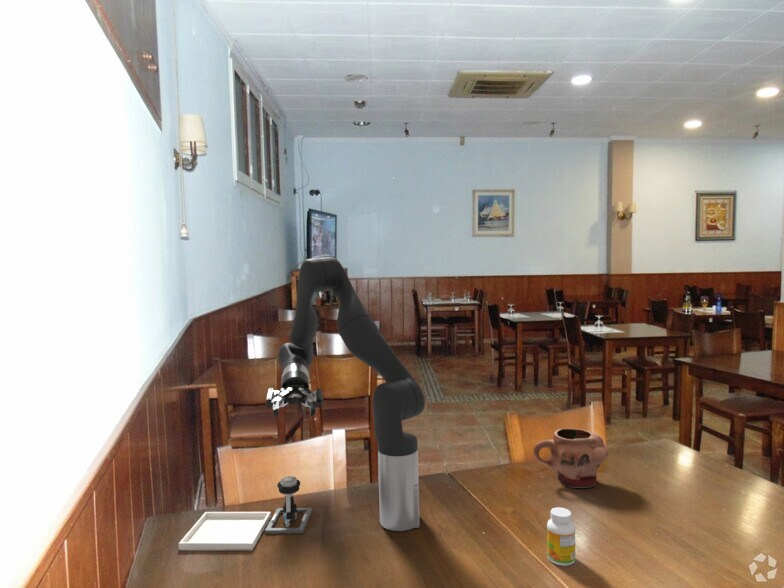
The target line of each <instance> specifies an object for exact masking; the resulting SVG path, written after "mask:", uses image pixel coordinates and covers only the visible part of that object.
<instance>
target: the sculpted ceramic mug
mask: <svg viewBox="0 0 784 588" xmlns="http://www.w3.org/2000/svg"><path fill="white" fill-rule="evenodd" d="M544 448H547V449H549V450H550V458H548V460H544V459H542V458H541V457H540V452H541V450H542V449H544ZM533 455H534V456H535V459H537V461H539V463H542V465H544V466H545V467H547V468H548V469H551V471H556V473H557V480H558V481H559V482H560V483H561V484H562V485H563V486H566V487H569V488H575V489H576V488H577V489H578V488H579V489H585V488H586V489H588V488H589V489H590V488H593V487H595V486H596V485H597V483H598V480H597V471H598V469H599V467H600V466H601V465H602V463H603V462H605V460H606V459H607V457H609V455H610V450H609V448H608V446H606V445H605V444H604V439H603V438H602V437H601V436H600V435H599V434H598V433H596V432H592V431H589V430H587V429H586V430H585V429H577V428H560V429H557V430H555V431H554V432H553V437H552V439H544V440H540V441H538V442H537V443H535V446H534V447H533Z"/></svg>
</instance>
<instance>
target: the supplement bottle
mask: <svg viewBox="0 0 784 588" xmlns="http://www.w3.org/2000/svg"><path fill="white" fill-rule="evenodd" d="M546 549H547V550H546V555H547V558H548V560H549V562H551V563H553V564H555V565H557V566H563V567H567V566H568V567H569V566H571V565H573V564H574V563H575V562H576V526H575V524H574V523H573V521H572V511H570V509H567V508H565V507H560V506H559V507H558V506H557V507H553V508H551V510H550V518H549V519H548V521H547V524H546Z"/></svg>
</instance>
